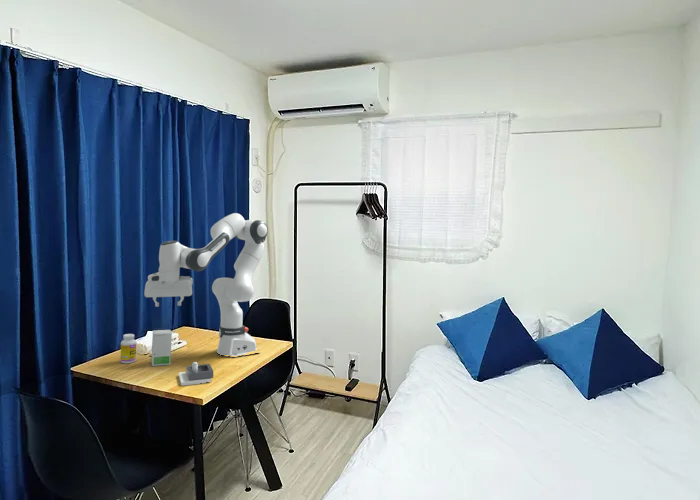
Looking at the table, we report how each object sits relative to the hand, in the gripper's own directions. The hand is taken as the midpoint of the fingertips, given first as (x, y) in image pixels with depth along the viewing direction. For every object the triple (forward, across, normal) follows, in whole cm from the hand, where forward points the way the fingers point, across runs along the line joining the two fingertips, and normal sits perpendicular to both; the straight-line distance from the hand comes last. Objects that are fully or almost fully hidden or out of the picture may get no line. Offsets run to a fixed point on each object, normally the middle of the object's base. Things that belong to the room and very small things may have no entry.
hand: (168, 306), depth 201 cm
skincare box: (+29, +2, -7) cm, 30 cm away
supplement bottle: (+29, +16, -14) cm, 36 cm away
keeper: (+29, -10, +18) cm, 36 cm away
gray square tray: (+28, -12, +18) cm, 35 cm away
